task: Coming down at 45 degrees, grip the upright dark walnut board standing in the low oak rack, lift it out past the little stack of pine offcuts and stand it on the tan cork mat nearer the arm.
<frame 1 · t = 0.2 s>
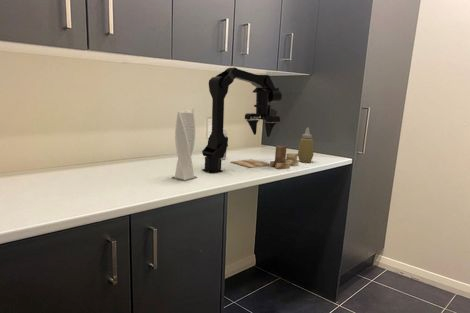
hand: (261, 135, 159), 14 cm above the worktop, tool pointing down, fingers open, 9 cm apart
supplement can: (218, 159, 173), on the worktop
oak rack: (279, 167, 158), on the worktop
pine offcut lower: (291, 165, 165), on the worktop
squeeze bottle: (304, 162, 175), on the worktop
walnut board: (279, 167, 158), on the worktop
skyscraper: (184, 179, 129), on the worktop
pine offcut upper: (291, 159, 165), point 3 cm above the worktop
cork mat: (250, 163, 163), on the worktop
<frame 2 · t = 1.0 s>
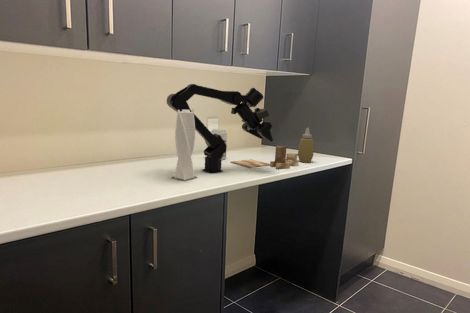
hand: (266, 139, 153), 13 cm above the worktop, tool tilted 45°, fingers open, 9 cm apart
pine offcut lower: (291, 165, 165), on the worktop, touching pine offcut upper
pine offcut upper: (291, 159, 165), point 3 cm above the worktop, touching pine offcut lower
everything else where it was.
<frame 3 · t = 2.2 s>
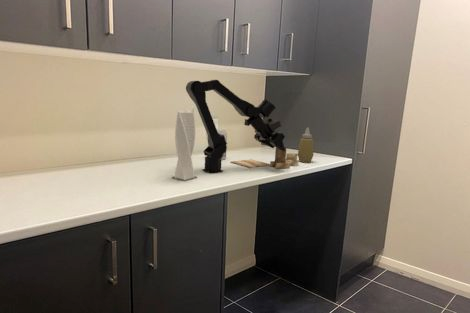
hand: (279, 149, 156), 9 cm above the worktop, tool tilted 45°, fingers open, 9 cm apart
pine offcut lower: (291, 165, 165), on the worktop
pine offcut upper: (291, 159, 165), point 3 cm above the worktop
everything else where it was.
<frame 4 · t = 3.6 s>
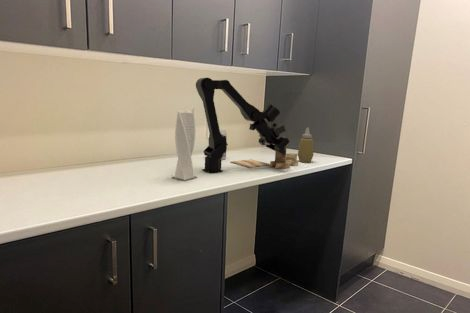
hand: (283, 153, 158), 7 cm above the worktop, tool tilted 45°, fingers closed on walnut board, 3 cm apart
pine offcut lower: (291, 165, 165), on the worktop, touching pine offcut upper
walnut board: (279, 167, 158), on the worktop, touching gripper
pine offcut upper: (291, 159, 165), point 3 cm above the worktop, touching pine offcut lower
everything else where it was.
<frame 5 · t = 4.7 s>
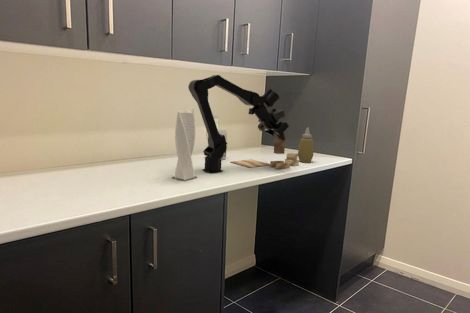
hand: (282, 139, 157), 13 cm above the worktop, tool tilted 45°, fingers closed on walnut board, 3 cm apart
pine offcut lower: (291, 165, 165), on the worktop
walnut board: (278, 153, 157), point 7 cm above the worktop, touching gripper
pine offcut upper: (291, 159, 165), point 3 cm above the worktop
everything else where it was.
when the fingers open (7 cm above the worktop, at t = 7.2 s): walnut board stays where it is, resting on cork mat.
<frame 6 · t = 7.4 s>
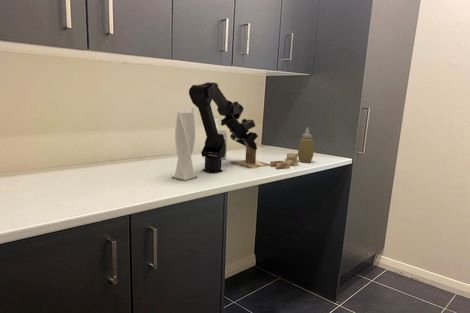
hand: (253, 148, 163), 8 cm above the worktop, tool tilted 45°, fingers open, 5 cm apart
pine offcut lower: (291, 165, 165), on the worktop, touching pine offcut upper
walnut board: (250, 162, 163), resting on cork mat
pine offcut upper: (292, 159, 165), point 3 cm above the worktop, touching pine offcut lower
everything else where it was.
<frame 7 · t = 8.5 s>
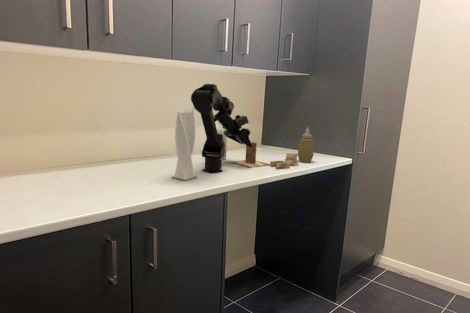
hand: (247, 145, 160), 9 cm above the worktop, tool tilted 45°, fingers open, 9 cm apart
nothing on the worktop moved.
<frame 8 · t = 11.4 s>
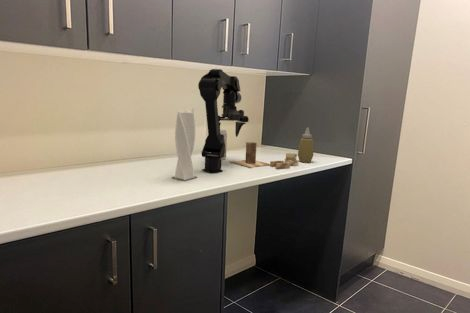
hand: (227, 136, 159), 13 cm above the worktop, tool pointing down, fingers open, 9 cm apart
pine offcut lower: (291, 165, 165), on the worktop
pine offcut upper: (290, 159, 164), point 3 cm above the worktop
everything else where it was.
at the end: walnut board inside the target area on the cork mat (0.1 cm from its centre), point 0.4 cm above the cork mat's base; walnut board touching cork mat; the gripper is holding nothing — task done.
